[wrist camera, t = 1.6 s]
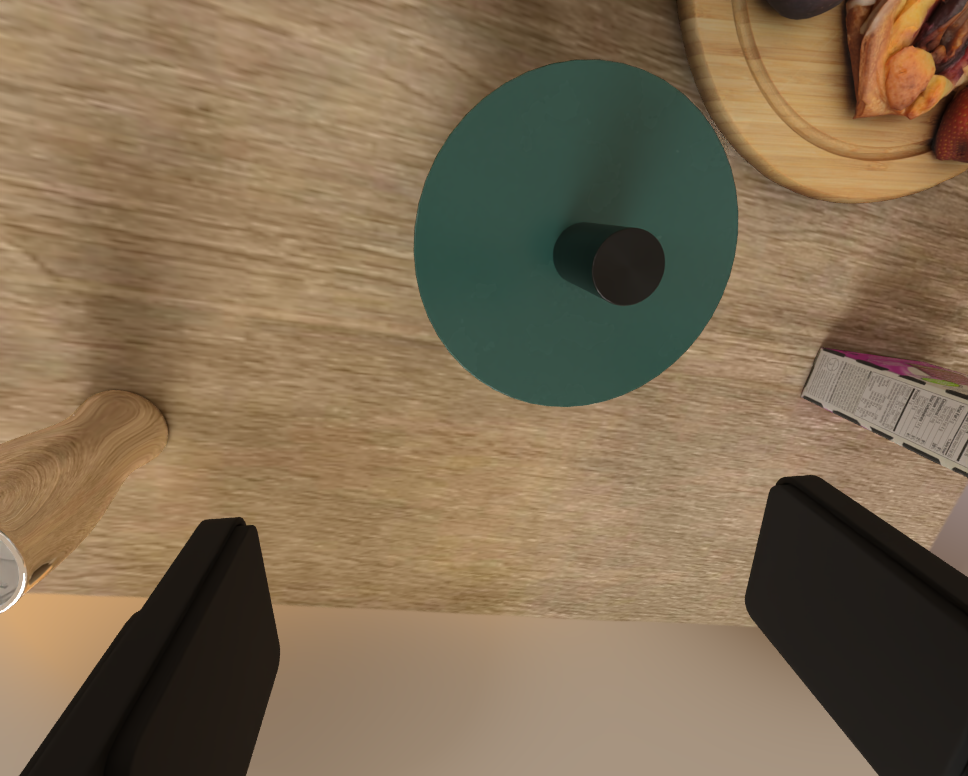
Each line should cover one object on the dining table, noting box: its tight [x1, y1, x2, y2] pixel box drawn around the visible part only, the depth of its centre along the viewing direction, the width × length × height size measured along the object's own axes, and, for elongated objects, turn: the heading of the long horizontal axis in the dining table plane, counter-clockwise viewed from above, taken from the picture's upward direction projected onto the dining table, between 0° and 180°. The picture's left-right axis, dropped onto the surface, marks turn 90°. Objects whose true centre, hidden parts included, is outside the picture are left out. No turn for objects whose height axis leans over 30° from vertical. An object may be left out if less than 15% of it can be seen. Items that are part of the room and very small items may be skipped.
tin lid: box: [414, 59, 738, 407], centre depth 21 cm, size 16×16×7 cm
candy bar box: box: [801, 348, 968, 478], centre depth 36 cm, size 11×5×16 cm, turn 81°
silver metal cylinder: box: [0, 390, 168, 613], centre depth 29 cm, size 7×7×15 cm
